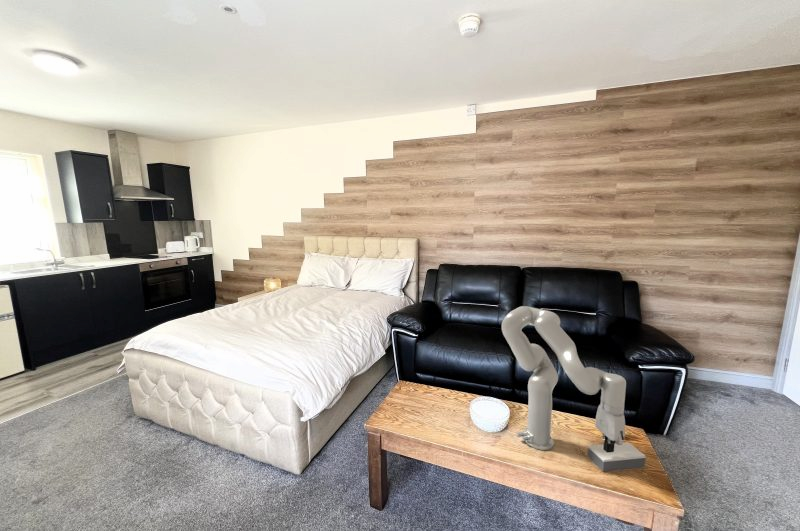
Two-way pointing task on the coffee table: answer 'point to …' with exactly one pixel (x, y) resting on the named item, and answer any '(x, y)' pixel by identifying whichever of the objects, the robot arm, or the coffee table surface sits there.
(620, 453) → the panel
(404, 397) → the coffee table surface
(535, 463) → the coffee table surface
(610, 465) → the grey rectangular box
